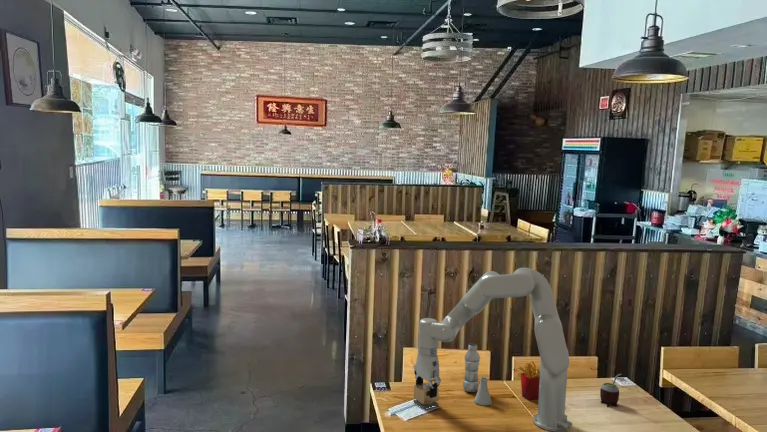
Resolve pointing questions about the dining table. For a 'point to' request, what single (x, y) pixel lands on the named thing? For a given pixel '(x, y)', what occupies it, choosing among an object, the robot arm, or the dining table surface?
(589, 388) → the dining table surface
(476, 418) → the dining table surface
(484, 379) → the flask
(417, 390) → the collar
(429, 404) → the post stand
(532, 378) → the french fries
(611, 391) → the mate gourd
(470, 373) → the plastic bottle
